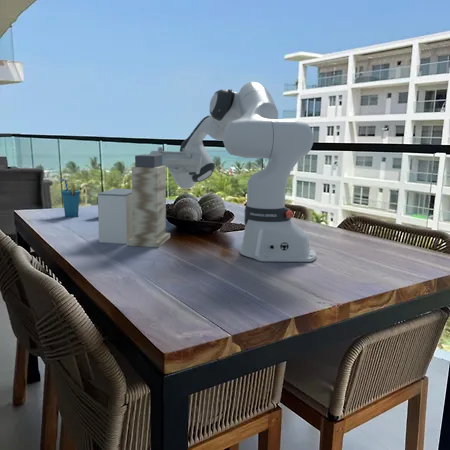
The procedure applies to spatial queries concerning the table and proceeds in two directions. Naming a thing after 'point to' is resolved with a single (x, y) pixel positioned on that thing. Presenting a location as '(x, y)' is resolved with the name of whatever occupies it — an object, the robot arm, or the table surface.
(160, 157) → the dark grey rectangular block
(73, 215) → the cup
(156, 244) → the marble stone pillar
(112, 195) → the block
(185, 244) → the table surface
